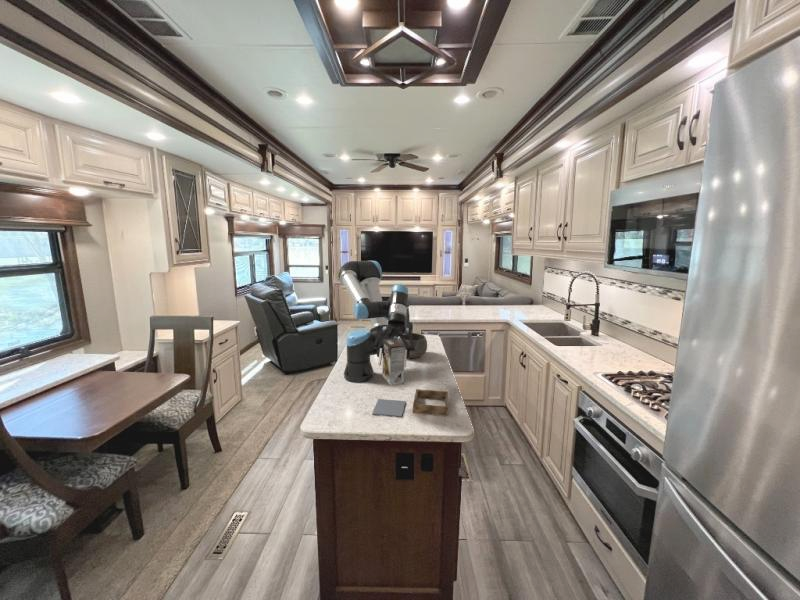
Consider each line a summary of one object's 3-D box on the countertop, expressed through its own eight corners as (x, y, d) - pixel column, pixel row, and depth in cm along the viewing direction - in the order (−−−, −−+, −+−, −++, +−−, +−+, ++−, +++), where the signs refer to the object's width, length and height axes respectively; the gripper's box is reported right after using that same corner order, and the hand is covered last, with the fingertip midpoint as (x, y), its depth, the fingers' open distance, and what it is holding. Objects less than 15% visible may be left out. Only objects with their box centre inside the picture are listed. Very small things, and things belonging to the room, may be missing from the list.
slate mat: (372, 414, 130) (372, 413, 129) (378, 400, 141) (378, 398, 141) (401, 417, 128) (401, 415, 128) (405, 402, 140) (405, 401, 139)
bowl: (425, 363, 183) (426, 341, 181) (394, 361, 186) (394, 340, 184) (428, 352, 201) (428, 332, 198) (399, 350, 203) (399, 331, 201)
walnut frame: (412, 412, 131) (413, 404, 131) (416, 396, 145) (416, 389, 144) (447, 415, 129) (447, 407, 129) (447, 398, 143) (447, 391, 142)
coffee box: (381, 375, 136) (381, 339, 132) (396, 373, 138) (396, 337, 135) (389, 385, 127) (389, 346, 124) (404, 382, 130) (405, 344, 126)
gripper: (371, 310, 138) (363, 360, 126) (422, 313, 136) (419, 363, 124) (373, 319, 145) (366, 367, 132) (422, 321, 142) (420, 370, 130)
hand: (392, 365), depth 128 cm, fingers closed on coffee box, 9 cm apart
